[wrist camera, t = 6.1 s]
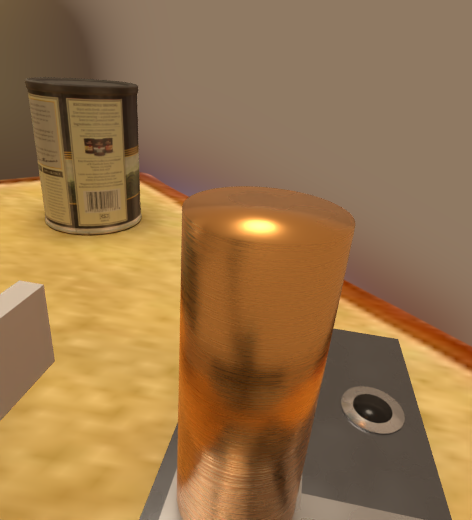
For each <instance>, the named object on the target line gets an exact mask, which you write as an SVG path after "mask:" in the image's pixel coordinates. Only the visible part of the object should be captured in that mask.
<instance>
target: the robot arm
mask: <svg viewBox="0 0 472 520" xmlns="http://www.w3.org/2000/svg"><path fill="white" fill-rule="evenodd" d="M54 361H55V360H54V353H53V346H52V339H51V332H50V325H49V318H48V312H47V305H46V298H45V291H44V285H42V284H36V283H31V282H25V281H18V282H17V283H15V284H14V285H12V286H11V287H9V288H8V289H7V290H5V291H4V292H2V293H1V294H0V421H1V419H2V418H3V417H4V416H5V415H6V414H7V413H8V412H9V411H10V410H11V408H12V407H13V406H14V405H15V404H16V403H17V402H18V401H19V400H20V399H21V397H22V396H23V395H24V394H25V393H26V392H27V391H28V390H29V389H30V388H31V387H32V385H33V384H34V383H35V382H36V381H37V380H38V379H39V378H40V377H41V376H42V374H43V373H44V372H45V371H46V370H47V369H48V368H49V367H50V366H51V365H52V363H53V362H54Z"/></svg>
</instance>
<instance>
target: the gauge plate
mask: <svg viewBox="0 0 472 520" xmlns="http://www.w3.org/2000/svg"><path fill="white" fill-rule="evenodd" d="M177 452H178V423H177V426H176V428H175V431H174V433H173V436H172V438H171V441H170V443H169V446H168V449H167V451H166V454H165V456H164V459H163V461H162V464H161V466H160V469H159V471H158V474H157V476H156V479H155V481H154V484H153V486H152V489H151V491H150V494H149V496H148V499H147V501H146V504H145V506H144V509H143V512H142V514H141V517H140V519H139V520H159V517H160V515H161V512H162V509H163V506H164V503H165V500H166V498H167V495H168V492H169V489H170V486H171V484H172V481H173V478H174V475H175V472H176V469H177ZM302 493H303V494H308V495H312V496H317V497H321V498H326V499H331V500H335V501H340V502H345V503H349V504H354V505H358V506H363V507H368V508H372V509H377V510H382V511H386V512H391V513H395V514H400V515H405V516H409V517H414V518H419V519H423V520H452V519H451V515H450V512H449V508H448V505H447V502H446V498H445V495H444V492H443V488H442V485H441V482H440V478H439V475H438V472H437V468H436V465H435V462H434V458H433V455H432V451H431V448H430V445H429V441H428V438H427V435H426V431H425V428H424V425H423V421H422V418H421V415H420V411H419V408H418V405H417V401H416V398H415V394H414V391H413V388H412V384H411V381H410V378H409V374H408V371H407V368H406V364H405V361H404V358H403V354H402V351H401V348H400V344H399V341H398V339H394V338H387V337H381V336H375V335H369V334H363V333H357V332H351V331H345V330H338V329H333V332H332V337H331V341H330V346H329V351H328V355H327V360H326V365H325V369H324V374H323V379H322V383H321V388H320V393H319V397H318V402H317V407H316V411H315V416H314V421H313V425H312V430H311V435H310V439H309V444H308V449H307V453H306V458H305V463H304V467H303V472H302Z"/></svg>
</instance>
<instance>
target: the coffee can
mask: <svg viewBox="0 0 472 520" xmlns="http://www.w3.org/2000/svg"><path fill="white" fill-rule="evenodd" d="M25 84H26V87H27V89H28V94H29V102H30V109H31V116H32V123H33V130H34V137H35V144H36V151H37V158H38V166H39V173H40V180H41V187H42V194H43V202H44V209H45V222H46V224H47V225H48V226H50V227H51V228H53V229H55V230H58V231H62V232H66V233H71V234H81V235H93V234H106V233H112V232H117V231H121V230H125V229H128V228H130V227H132V226H134V225H136V224H137V223H138V222H139V221H140V220H141V217H142V216H141V208H140V182H139V157H138V156H139V155H138V117H137V93H138V86H137V85H136V84H132V83H126V82H119V81H107V80H94V79H76V78H27V79H25Z"/></svg>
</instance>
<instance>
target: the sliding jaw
mask: <svg viewBox="0 0 472 520" xmlns="http://www.w3.org/2000/svg"><path fill="white" fill-rule="evenodd" d="M354 228H355V220H354V218H353V217H352V215H351V214H350V213H349V212H347V211H346V210H345V209H343V208H342V207H340V206H338V205H336V204H334V203H332V202H330V201H327V200H324V199H322V198H318V197H315V196H312V195H308V194H304V193H300V192H295V191H290V190H283V189H277V188H267V187H248V186H246V187H245V186H244V187H242V186H241V187H240V186H239V187H225V188H224V187H223V188H216V189H211V190H206V191H202V192H199V193H196V194H194V195H192V196H190V197H189V198H188V199H186V200H185V202H184V203H183V206H182V252H181V302H180V352H179V402H178V452H177V469H176V472H175V475H174V478H173V481H172V484H171V486H170V489H169V492H168V495H167V498H166V500H165V503H164V506H163V509H162V512H161V515H160V517H159V520H423V519H419V518H414V517H409V516H405V515H400V514H395V513H391V512H386V511H382V510H377V509H372V508H368V507H363V506H358V505H354V504H349V503H345V502H340V501H335V500H331V499H326V498H321V497H317V496H312V495H308V494H303V493H302V472H303V467H304V463H305V458H306V453H307V449H308V444H309V439H310V435H311V430H312V425H313V421H314V416H315V411H316V407H317V402H318V397H319V393H320V388H321V383H322V379H323V374H324V369H325V365H326V360H327V355H328V351H329V346H330V341H331V337H332V332H333V327H334V323H335V318H336V313H337V309H338V304H339V299H340V295H341V290H342V285H343V281H344V276H345V271H346V267H347V262H348V257H349V252H350V247H351V243H352V238H353V234H354Z"/></svg>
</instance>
